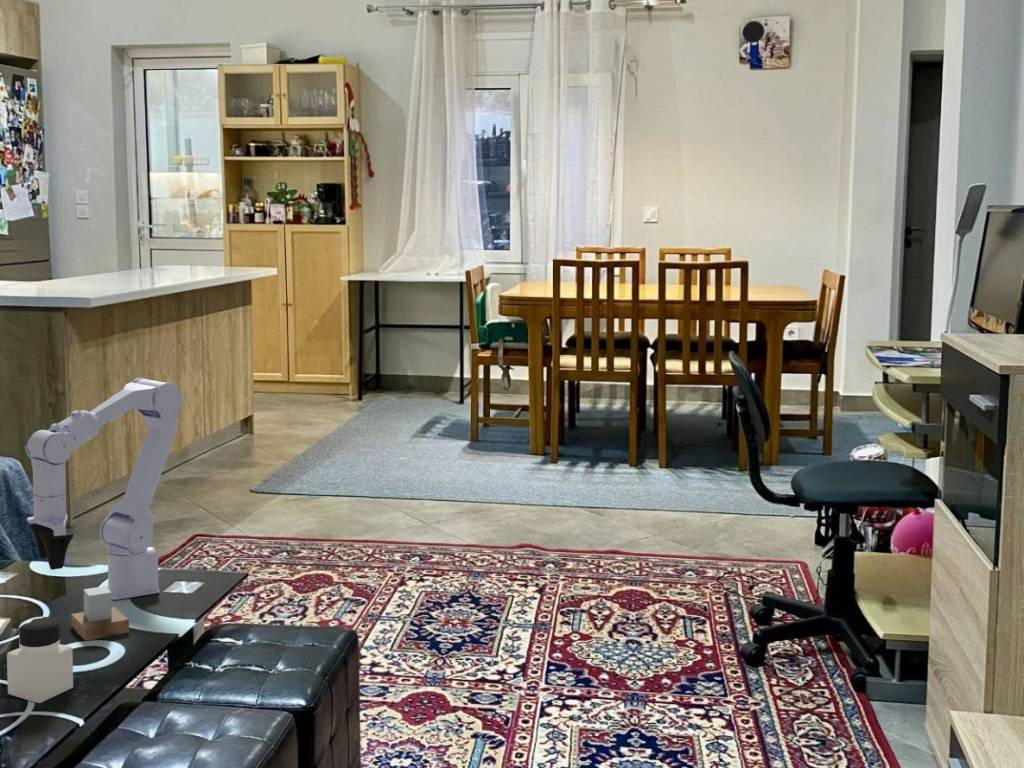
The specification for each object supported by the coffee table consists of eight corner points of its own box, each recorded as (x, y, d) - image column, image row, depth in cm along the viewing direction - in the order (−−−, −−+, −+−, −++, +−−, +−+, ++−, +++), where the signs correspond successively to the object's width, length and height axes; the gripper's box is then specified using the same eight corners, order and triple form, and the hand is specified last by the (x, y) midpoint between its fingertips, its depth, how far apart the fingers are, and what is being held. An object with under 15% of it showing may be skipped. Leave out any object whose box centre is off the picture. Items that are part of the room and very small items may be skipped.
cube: (106, 611, 210) (105, 586, 209) (111, 618, 206) (111, 592, 206) (84, 615, 208) (83, 589, 207) (89, 621, 204) (88, 595, 204)
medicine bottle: (74, 687, 182) (72, 618, 181) (39, 704, 176) (37, 632, 174) (42, 678, 185) (40, 610, 184) (6, 694, 179) (4, 623, 177)
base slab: (114, 621, 213) (114, 606, 213) (129, 634, 207) (128, 619, 206) (71, 629, 208) (71, 614, 208) (84, 643, 202) (84, 627, 202)
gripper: (18, 487, 213) (20, 555, 216) (36, 505, 202) (38, 576, 204) (56, 483, 218) (58, 550, 220) (76, 500, 206) (78, 571, 208)
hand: (51, 562), depth 212 cm, fingers open, 7 cm apart
